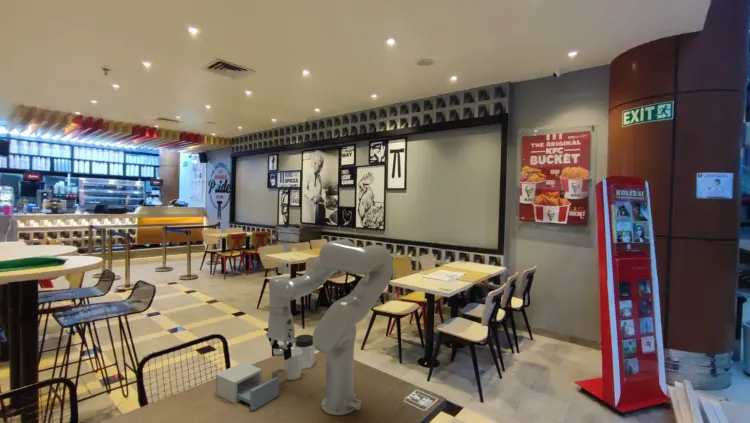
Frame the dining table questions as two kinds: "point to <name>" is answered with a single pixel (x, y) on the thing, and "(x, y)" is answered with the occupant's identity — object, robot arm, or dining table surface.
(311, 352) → the jar
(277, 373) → the beige block
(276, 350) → the disc
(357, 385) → the dining table surface
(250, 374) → the housing
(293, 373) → the white cup
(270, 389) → the blue-grey open box
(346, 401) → the robot arm
